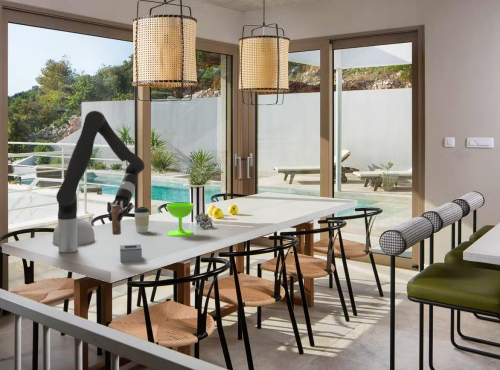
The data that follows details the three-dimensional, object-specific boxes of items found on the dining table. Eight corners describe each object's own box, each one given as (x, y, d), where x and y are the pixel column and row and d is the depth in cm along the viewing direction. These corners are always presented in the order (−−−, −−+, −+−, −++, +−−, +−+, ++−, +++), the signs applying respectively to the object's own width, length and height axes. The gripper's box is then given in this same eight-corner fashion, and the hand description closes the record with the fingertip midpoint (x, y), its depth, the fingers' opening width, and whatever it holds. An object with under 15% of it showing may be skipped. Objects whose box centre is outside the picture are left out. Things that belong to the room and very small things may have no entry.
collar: (120, 262, 271) (120, 249, 270) (120, 257, 280) (120, 245, 280) (141, 260, 273) (141, 248, 272) (140, 256, 283) (140, 244, 282)
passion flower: (205, 236, 359) (197, 223, 353) (196, 231, 368) (188, 217, 361) (218, 225, 363) (211, 212, 357) (209, 220, 372) (201, 207, 365)
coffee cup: (148, 233, 343) (148, 208, 342) (133, 233, 343) (133, 208, 341) (150, 230, 352) (149, 206, 351) (135, 230, 352) (135, 206, 350)
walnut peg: (112, 235, 274) (111, 206, 272) (112, 233, 278) (111, 205, 276) (121, 234, 275) (119, 205, 273) (120, 232, 278) (119, 204, 277)
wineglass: (161, 234, 339) (160, 204, 337) (180, 230, 351) (179, 201, 349) (180, 237, 329) (180, 207, 327) (199, 233, 342) (199, 204, 340)
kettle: (55, 237, 330) (54, 199, 328) (95, 235, 335) (94, 198, 333) (50, 246, 306) (48, 205, 304) (93, 244, 311) (92, 203, 309)
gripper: (109, 187, 283) (97, 215, 273) (135, 188, 279) (124, 216, 269) (115, 196, 288) (104, 224, 278) (140, 197, 284) (130, 225, 274)
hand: (114, 220), depth 273 cm, fingers closed on walnut peg, 4 cm apart
